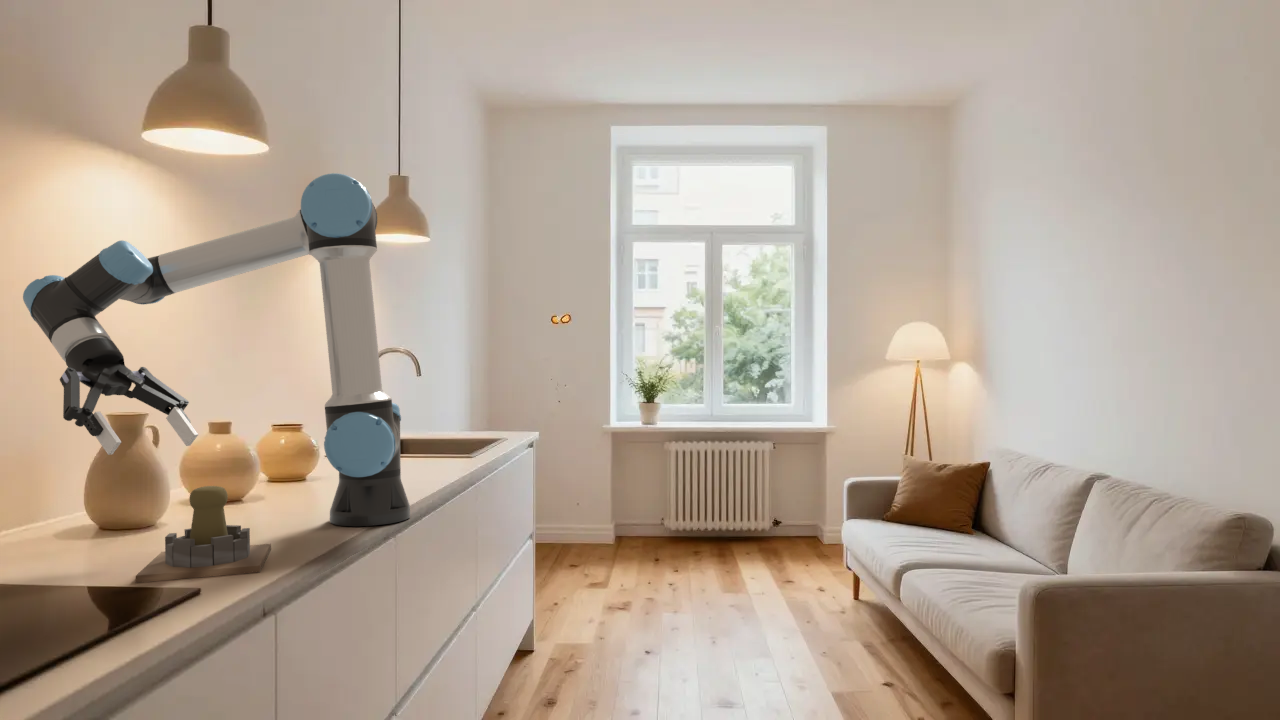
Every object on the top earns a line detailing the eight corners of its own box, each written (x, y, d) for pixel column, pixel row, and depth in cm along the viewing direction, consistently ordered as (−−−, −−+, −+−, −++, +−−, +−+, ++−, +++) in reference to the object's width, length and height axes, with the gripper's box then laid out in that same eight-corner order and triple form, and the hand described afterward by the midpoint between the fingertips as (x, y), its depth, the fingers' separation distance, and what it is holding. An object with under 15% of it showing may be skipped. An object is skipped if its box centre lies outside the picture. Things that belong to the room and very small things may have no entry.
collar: (270, 549, 136) (270, 519, 136) (259, 572, 121) (259, 538, 121) (161, 558, 131) (161, 526, 131) (135, 582, 116) (135, 547, 116)
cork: (212, 563, 122) (211, 489, 122) (177, 562, 124) (176, 489, 124) (239, 554, 128) (239, 484, 128) (206, 553, 129) (205, 483, 130)
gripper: (146, 367, 148) (209, 452, 143) (-3, 368, 125) (65, 469, 120) (167, 337, 147) (232, 422, 141) (19, 332, 123) (90, 434, 118)
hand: (155, 444), depth 130 cm, fingers open, 13 cm apart
